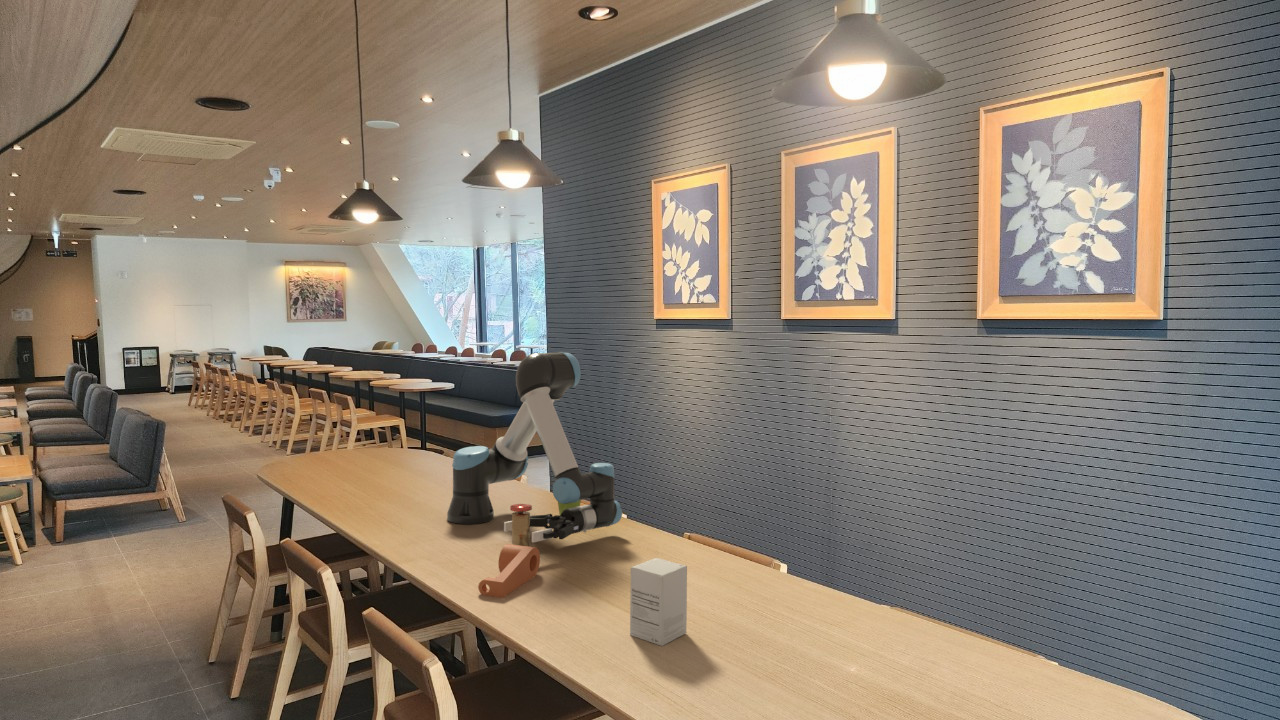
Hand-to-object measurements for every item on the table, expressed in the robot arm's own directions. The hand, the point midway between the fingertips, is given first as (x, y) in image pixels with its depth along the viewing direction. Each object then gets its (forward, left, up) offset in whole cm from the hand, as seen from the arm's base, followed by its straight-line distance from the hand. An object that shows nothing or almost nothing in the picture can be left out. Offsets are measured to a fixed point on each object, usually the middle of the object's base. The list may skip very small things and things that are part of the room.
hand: (518, 532), depth 219 cm
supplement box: (+65, -8, -7) cm, 65 cm away
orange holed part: (+16, -14, -7) cm, 23 cm away
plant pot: (-23, +36, -7) cm, 44 cm away
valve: (0, +1, -7) cm, 7 cm away
